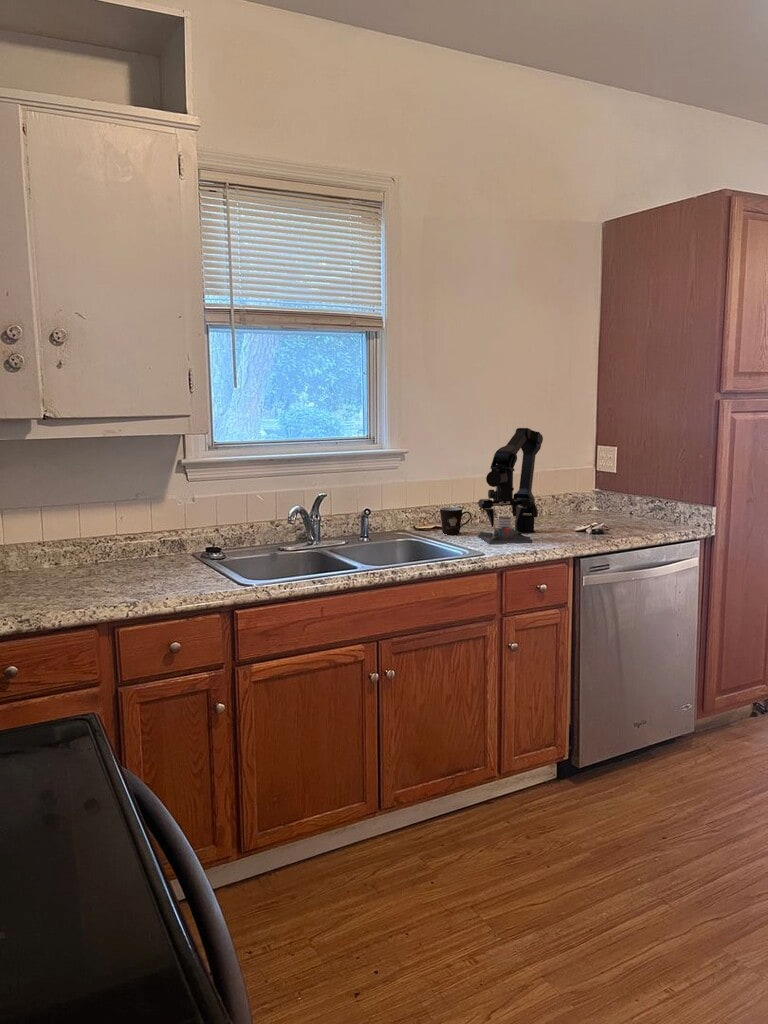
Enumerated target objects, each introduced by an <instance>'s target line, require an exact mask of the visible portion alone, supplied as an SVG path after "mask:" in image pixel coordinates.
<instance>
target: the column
mask: <svg viewBox="0 0 768 1024" xmlns="http://www.w3.org/2000/svg"><path fill="white" fill-rule="evenodd" d="M511 520H512V517H510V516H506V515H505V516H504V515H503V516H498V523H497V525H498V528H499V530H504V528H512V527H511V523H512V521H511Z"/></svg>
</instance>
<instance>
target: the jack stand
mask: <svg viewBox="0 0 768 1024" xmlns="http://www.w3.org/2000/svg"><path fill="white" fill-rule="evenodd" d="M493 530H494V533H493V532H486V531H479V534H477V537H478V538H479V539H480V538H481V539H480V540H482V541H483V540H484V541H483V542H485V543H486V542H487V543H486V544H488V545H508V544H507V543H515V544H532V543H533V539H531V536H525V535H524V534H523V533H518V531H515V528H514V529H513V528H512V527H511V528H504V530H499V527H496V528H494V527H493Z"/></svg>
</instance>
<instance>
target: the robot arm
mask: <svg viewBox="0 0 768 1024" xmlns="http://www.w3.org/2000/svg"><path fill="white" fill-rule="evenodd" d="M543 441H544V437H543V434H541V432H539V431H536V430H532V429H531V428H530V427H529V428H528V427H518V428H516V429H515V433H514V434H513V435H512V436H511V438H510V440H509V441H508V442H507V444H506V445H505V446H502V447H500V448H498V449H497V450H496V451H495V453H494V455H493V458H492V462H491V465H490V469H491V471H488V473H487V475H486V478H485V480H486V483H487V485H488V486H489V487H492V488H495V490H494V489H489V490H487V496H488V498H480V499H478V503H477V505H478V508H480V509H482V510H483V511H485V512H486V515H487V517H488V519H489V523H490V526H491V528H494V525H495V522H494V521H495V518H494V515H495V514H494V512H495V511H494V508H493V507H502V506H503V507H505V506H508V507H509V506H511V511H512V517H515V520H514V530H515V531H518V533H520V534H535V533H536V531H535V518H538V515H539V510H538V507H537V505H536V502H535V501H536V500H535V499H536V498H535V497H534V494H533V492H532V491H533V482H534V481H533V480H534V473H535V472H534V471H535V463H536V455H537V454H538V453H539V451H540V450H541V448H542V443H543ZM520 450H521V452H522V461H521V462H522V463H521V470H520V471H521V472H520V479H519V488H518V490H517V492H515V493H514V491H515V488H514V471H515V468H514V467H515V465H516V463H517V461H518V455H517V454H518V452H520ZM513 493H514V494H513ZM492 499H493V500H492Z"/></svg>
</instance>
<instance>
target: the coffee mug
mask: <svg viewBox="0 0 768 1024" xmlns="http://www.w3.org/2000/svg"><path fill="white" fill-rule="evenodd" d="M439 512H440V513H439V514H440V520H441V521H440V522H441V530H442V534H443V533H444V534H447V535H456V536H459V535H460V534H461V528H462V527H464V525H467V524H468V523H469V522H470V520H471V519H472V518H473V517H472V513H471V512H470V511H463V508H462V507H457V506H456V507H453V506H452V507H449V506H448V507H441V508H439ZM465 514H468V515H469V518H468V520H466V521H465V522H464V523H462V517H463V515H465ZM458 534H459V535H458Z"/></svg>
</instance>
